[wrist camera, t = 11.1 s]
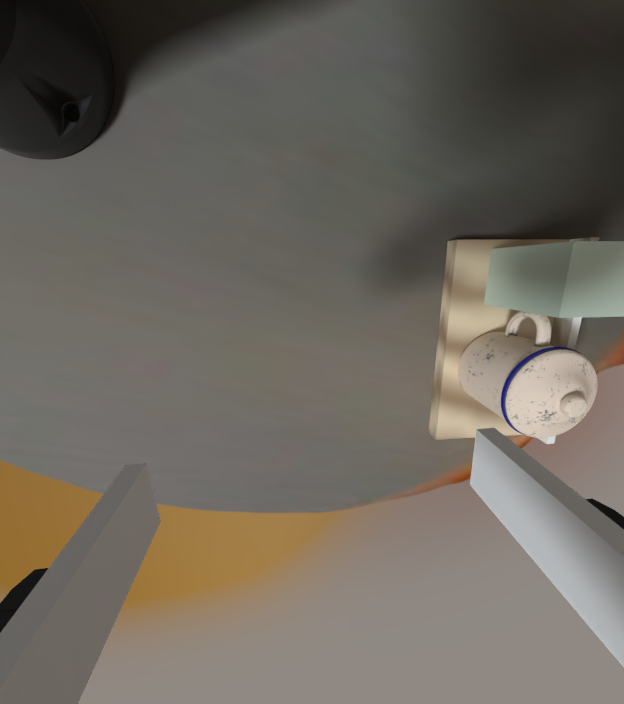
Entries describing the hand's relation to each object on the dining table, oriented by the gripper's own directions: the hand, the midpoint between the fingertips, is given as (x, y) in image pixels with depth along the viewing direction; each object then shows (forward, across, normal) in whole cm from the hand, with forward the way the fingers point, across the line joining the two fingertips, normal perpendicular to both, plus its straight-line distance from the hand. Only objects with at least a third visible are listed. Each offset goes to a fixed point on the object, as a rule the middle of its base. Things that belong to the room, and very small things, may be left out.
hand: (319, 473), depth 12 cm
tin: (+23, +25, +5) cm, 34 cm away
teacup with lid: (+23, +23, -4) cm, 33 cm away
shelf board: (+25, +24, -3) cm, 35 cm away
